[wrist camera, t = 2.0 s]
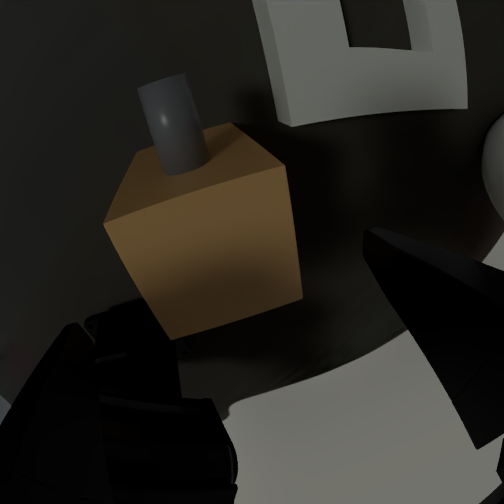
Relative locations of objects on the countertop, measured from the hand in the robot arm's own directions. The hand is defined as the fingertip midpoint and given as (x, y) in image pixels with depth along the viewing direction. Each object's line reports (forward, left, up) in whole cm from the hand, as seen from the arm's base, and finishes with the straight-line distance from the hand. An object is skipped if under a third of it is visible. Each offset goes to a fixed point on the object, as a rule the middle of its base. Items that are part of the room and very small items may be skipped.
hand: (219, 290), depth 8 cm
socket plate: (+9, -12, -9) cm, 18 cm away
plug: (+2, 0, -9) cm, 9 cm away
